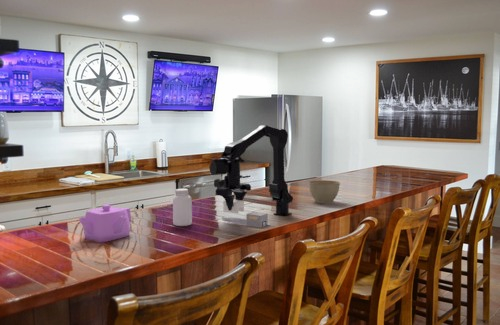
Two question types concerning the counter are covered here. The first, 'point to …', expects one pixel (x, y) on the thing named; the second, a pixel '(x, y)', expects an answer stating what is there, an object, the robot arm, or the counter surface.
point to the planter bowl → (324, 190)
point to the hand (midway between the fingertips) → (233, 209)
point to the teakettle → (106, 223)
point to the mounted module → (257, 218)
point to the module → (234, 206)
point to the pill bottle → (182, 208)
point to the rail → (238, 221)
